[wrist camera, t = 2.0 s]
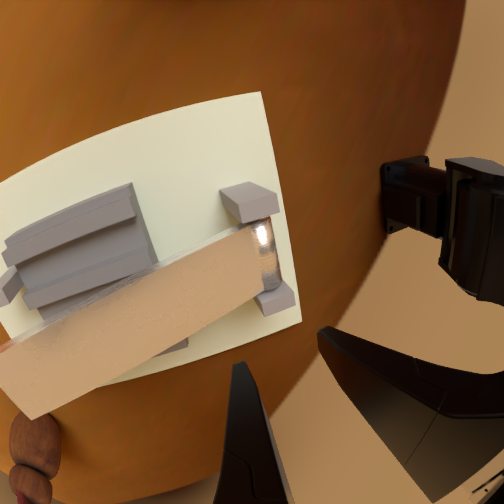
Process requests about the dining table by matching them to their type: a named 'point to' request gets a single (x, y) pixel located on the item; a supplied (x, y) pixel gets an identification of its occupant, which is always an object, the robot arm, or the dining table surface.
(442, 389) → the robot arm
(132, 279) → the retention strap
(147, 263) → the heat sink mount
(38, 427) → the wooden figurine
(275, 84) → the dining table surface
